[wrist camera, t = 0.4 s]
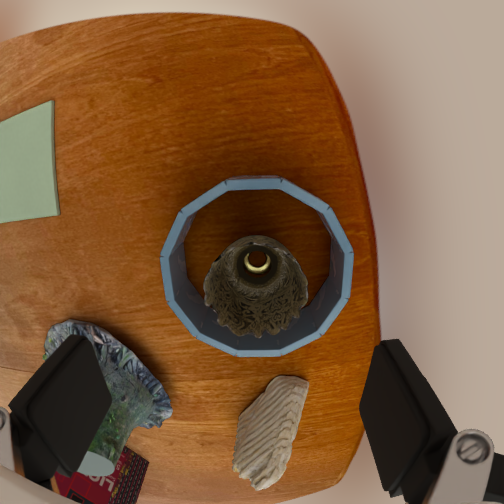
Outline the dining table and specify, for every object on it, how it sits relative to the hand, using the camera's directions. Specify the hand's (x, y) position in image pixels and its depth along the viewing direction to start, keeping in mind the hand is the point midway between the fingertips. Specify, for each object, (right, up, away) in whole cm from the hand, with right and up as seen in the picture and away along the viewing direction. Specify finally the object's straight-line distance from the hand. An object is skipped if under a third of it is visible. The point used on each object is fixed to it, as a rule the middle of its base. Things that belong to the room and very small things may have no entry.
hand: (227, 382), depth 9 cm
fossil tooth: (+3, -16, +26) cm, 31 cm away
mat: (-27, +14, +17) cm, 35 cm away
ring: (+1, +3, +20) cm, 20 cm away
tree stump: (-19, -12, +26) cm, 34 cm away
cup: (+1, +3, +20) cm, 20 cm away
